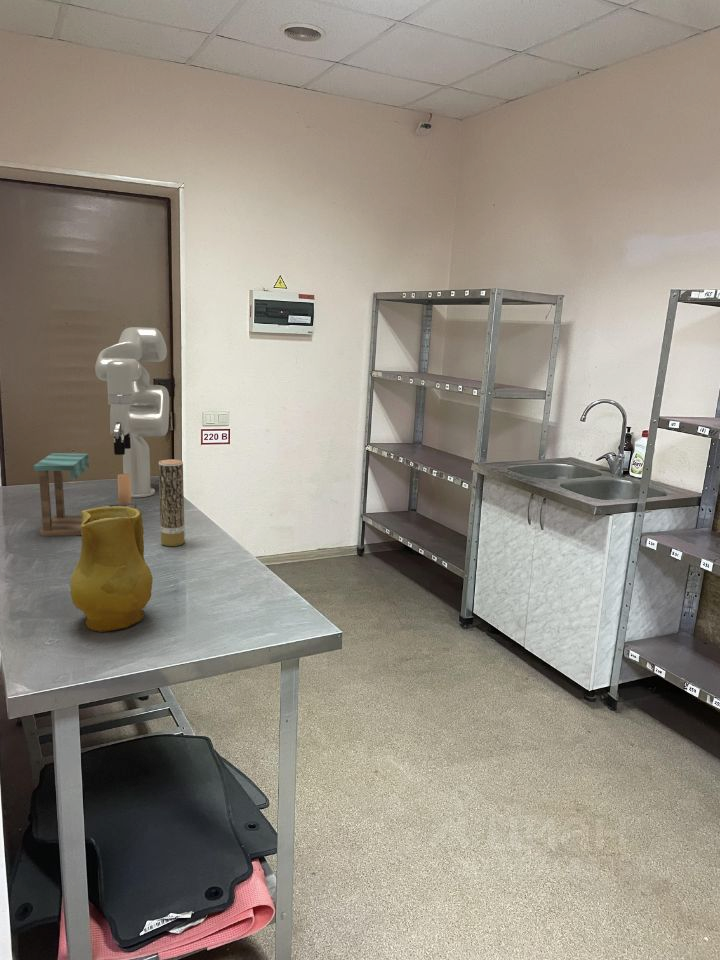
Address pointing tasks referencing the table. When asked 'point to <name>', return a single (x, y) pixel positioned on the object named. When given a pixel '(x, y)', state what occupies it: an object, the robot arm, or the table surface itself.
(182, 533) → the paper tube
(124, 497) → the peg
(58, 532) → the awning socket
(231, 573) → the table surface
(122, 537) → the pitcher
